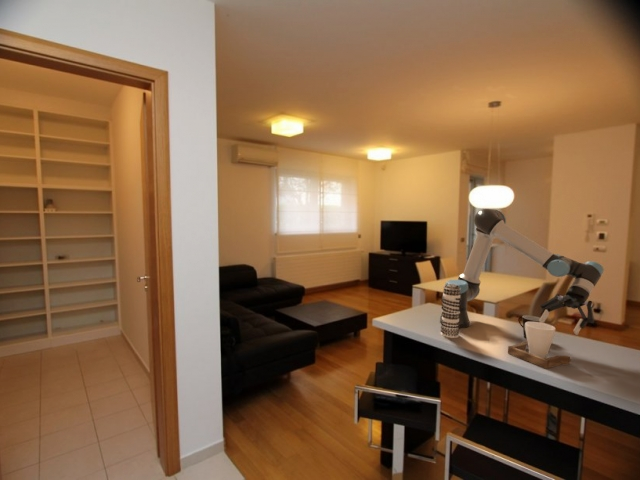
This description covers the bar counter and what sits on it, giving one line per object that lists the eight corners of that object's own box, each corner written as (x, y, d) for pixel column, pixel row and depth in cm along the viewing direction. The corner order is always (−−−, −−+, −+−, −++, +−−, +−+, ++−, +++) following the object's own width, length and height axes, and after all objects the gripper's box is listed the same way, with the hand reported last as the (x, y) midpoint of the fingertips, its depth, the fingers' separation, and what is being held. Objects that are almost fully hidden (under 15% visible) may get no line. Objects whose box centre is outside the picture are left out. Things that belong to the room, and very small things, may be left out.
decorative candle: (455, 332, 163) (458, 283, 162) (462, 338, 154) (465, 287, 152) (437, 331, 164) (439, 282, 162) (443, 337, 155) (445, 286, 153)
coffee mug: (545, 342, 152) (547, 321, 151) (525, 340, 153) (526, 320, 153) (534, 334, 163) (535, 314, 162) (515, 332, 165) (517, 313, 164)
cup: (559, 362, 130) (562, 329, 129) (535, 362, 129) (537, 330, 128) (540, 351, 140) (542, 321, 139) (517, 352, 139) (519, 321, 138)
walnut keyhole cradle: (504, 351, 139) (504, 345, 139) (523, 347, 145) (524, 340, 145) (550, 370, 122) (551, 362, 122) (570, 364, 128) (571, 356, 128)
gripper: (617, 303, 134) (594, 343, 129) (552, 289, 156) (530, 323, 151) (612, 291, 131) (588, 332, 126) (547, 279, 154) (524, 313, 148)
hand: (557, 327), depth 139 cm, fingers open, 13 cm apart
